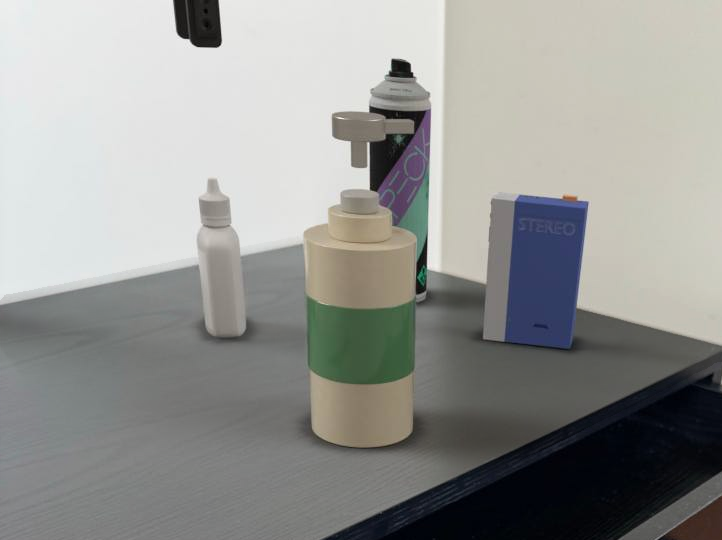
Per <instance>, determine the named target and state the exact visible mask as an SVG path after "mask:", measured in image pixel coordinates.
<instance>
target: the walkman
mask: <svg viewBox="0 0 722 540" xmlns="http://www.w3.org/2000/svg"><path fill="white" fill-rule="evenodd" d="M578 198H579V197H578V195H571V194H563V195H562V197H561V198H557V197H549V196H538V195H529V194H518V193H510V192H498V193H497V195H495V194H494V195H493V196H492V197H491V200H490V205H491V206H490V213H489V218H490V221H489V228H488V251H487V266H486V279H485V281H486V283H485V298H484V300H485V301H484V315H483V331H482V340H487V341H495V342H502V343H503V342H504V343H513V344H521V345H530V346H539V347H549V348H557V349H564V350H570V349H571V346H572V342H573V340H574V331H575V324H576V315H577V306H578V298H579V290H580V289H579V288H580V280H581V274H582V273H581V272H582V264H583V256H584V246H585V237H586V229H587V220H588V213H589V212H588V211H589V204H590V203H589V201H587V200H578Z"/></svg>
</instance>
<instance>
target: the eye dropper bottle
mask: <svg viewBox="0 0 722 540" xmlns="http://www.w3.org/2000/svg"><path fill="white" fill-rule="evenodd" d="M206 182H207V184H206V191H205V192H204V193H203V194H202V195H200V196H199V197H198V206H199V216H200V217H199V218H200V223H201V226H200V228H199V229H198V232H197V235H196V249H197V257H198V269H199V277H200V278H199V279H200V286H201V287H200V288H201V297H202V298H201V299H202V306H203V307H202V308H203V315H204V325H205V329H206V331H207V332H208V333H209V335H211V336H213V337H215V338H238V337H241V336H242V335H243V334H244V333H245V332H246V329H247V318H246V306H245V294H244V293H245V292H244V282H243V281H244V279H243V269H242V258H241V257H242V256H241V244H240V239H239V238H240V237H239V235H238V233H237V231H236V230H235V228H233V226H232V225H231V224H232V213H231V211H232V210H231V201H230V196H228V195H225V194H224V193H222V192H221V189H220V185H219V182H218V179H217V178H216V177H208V178H207V181H206Z"/></svg>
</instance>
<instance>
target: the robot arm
mask: <svg viewBox="0 0 722 540" xmlns="http://www.w3.org/2000/svg"><path fill="white" fill-rule="evenodd" d="M172 6H173V14H174V23H175V24H174V25H175V32H176V34H177V36H178V37H179V38H181V39H183V40H189V42H190V44H191V45H192V46H194V47H196V48H203V49H204V48H208V49H218V48H220V47H221V46H222V43H223V35H222V25H221V24H222V23H221V12H220V10H221V9H220V0H172Z"/></svg>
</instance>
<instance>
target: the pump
mask: <svg viewBox="0 0 722 540" xmlns="http://www.w3.org/2000/svg"><path fill="white" fill-rule="evenodd" d="M386 134H414V121H412V120H410V119H386V118H385V116H383V115H380V114H376V113H369V111H354V110H353V111H351V110H350V111H348V110H347V111H336V112H333V113H331V136H332V138H334V139H335V140H340V141H344V142H350V167H351V168H355V169H367V168H368V167H369V166H368V165H369V164H368V143H369V142H379V141H383V140H385V138H386Z"/></svg>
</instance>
